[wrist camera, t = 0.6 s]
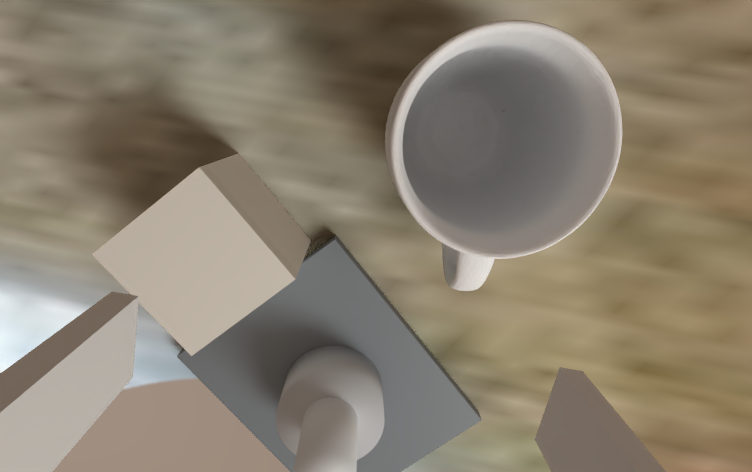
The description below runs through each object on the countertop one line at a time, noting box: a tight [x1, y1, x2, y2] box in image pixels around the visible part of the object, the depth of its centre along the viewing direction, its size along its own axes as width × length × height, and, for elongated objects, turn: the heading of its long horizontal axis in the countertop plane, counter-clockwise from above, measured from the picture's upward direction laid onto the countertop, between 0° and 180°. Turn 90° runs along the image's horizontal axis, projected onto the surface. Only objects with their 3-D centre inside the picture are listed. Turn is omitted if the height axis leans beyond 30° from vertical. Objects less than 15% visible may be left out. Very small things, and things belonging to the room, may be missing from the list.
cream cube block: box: [92, 153, 311, 356], centre depth 31 cm, size 8×8×8 cm
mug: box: [385, 20, 622, 291], centre depth 28 cm, size 15×11×13 cm
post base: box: [177, 235, 481, 472], centre depth 34 cm, size 20×16×10 cm
